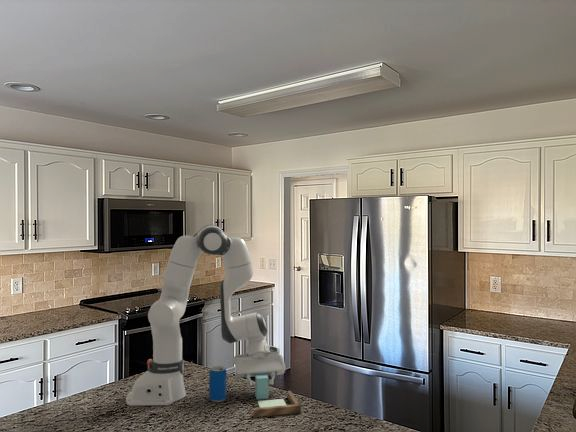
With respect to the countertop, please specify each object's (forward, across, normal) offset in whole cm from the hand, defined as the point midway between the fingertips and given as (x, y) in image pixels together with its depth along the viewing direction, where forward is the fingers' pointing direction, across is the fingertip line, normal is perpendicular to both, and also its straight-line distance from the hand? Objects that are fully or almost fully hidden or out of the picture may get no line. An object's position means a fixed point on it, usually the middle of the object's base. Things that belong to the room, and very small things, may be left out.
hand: (262, 385), depth 175 cm
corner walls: (+10, +2, -4) cm, 11 cm away
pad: (+10, +2, -3) cm, 10 cm away
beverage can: (+2, -17, +5) cm, 18 cm away
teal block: (+3, 0, +4) cm, 5 cm away
